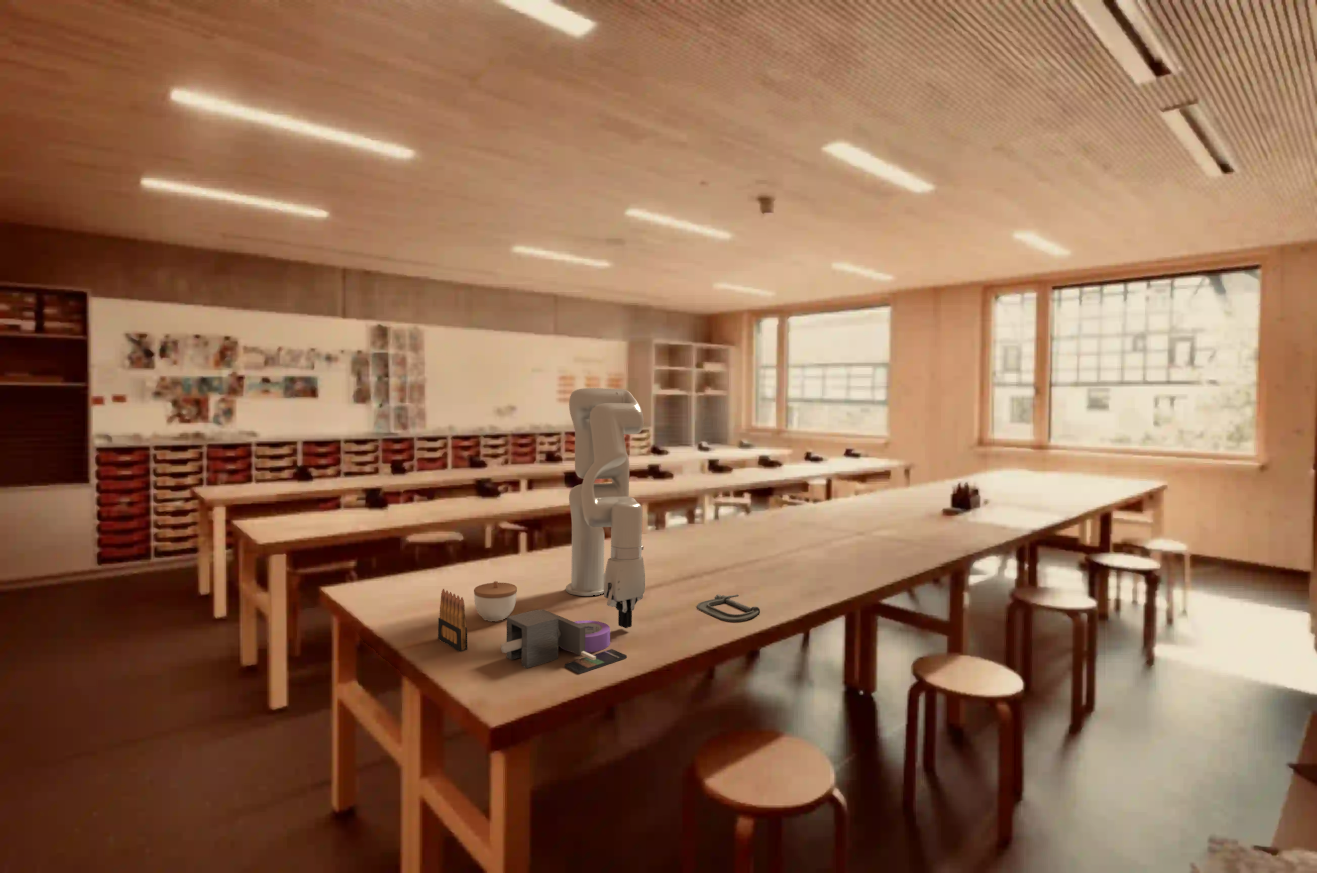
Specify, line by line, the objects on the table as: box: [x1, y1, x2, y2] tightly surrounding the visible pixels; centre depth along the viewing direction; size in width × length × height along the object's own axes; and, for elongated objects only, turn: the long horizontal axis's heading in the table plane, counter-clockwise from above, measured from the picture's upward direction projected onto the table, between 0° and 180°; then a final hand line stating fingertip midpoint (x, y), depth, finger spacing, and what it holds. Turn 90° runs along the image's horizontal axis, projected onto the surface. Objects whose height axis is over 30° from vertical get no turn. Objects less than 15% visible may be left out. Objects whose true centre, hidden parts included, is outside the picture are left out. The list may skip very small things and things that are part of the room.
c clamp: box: [696, 593, 761, 623], centre depth 185 cm, size 20×17×3 cm
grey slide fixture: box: [505, 609, 628, 675], centre depth 148 cm, size 20×18×9 cm
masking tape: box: [560, 620, 611, 654], centre depth 157 cm, size 12×12×4 cm
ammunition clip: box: [437, 588, 468, 653], centre depth 155 cm, size 11×2×12 cm, turn 44°
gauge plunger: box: [500, 608, 596, 660], centre depth 146 cm, size 16×20×6 cm
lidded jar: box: [473, 580, 518, 622], centre depth 174 cm, size 11×11×9 cm
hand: (624, 626), depth 166 cm, fingers closed
